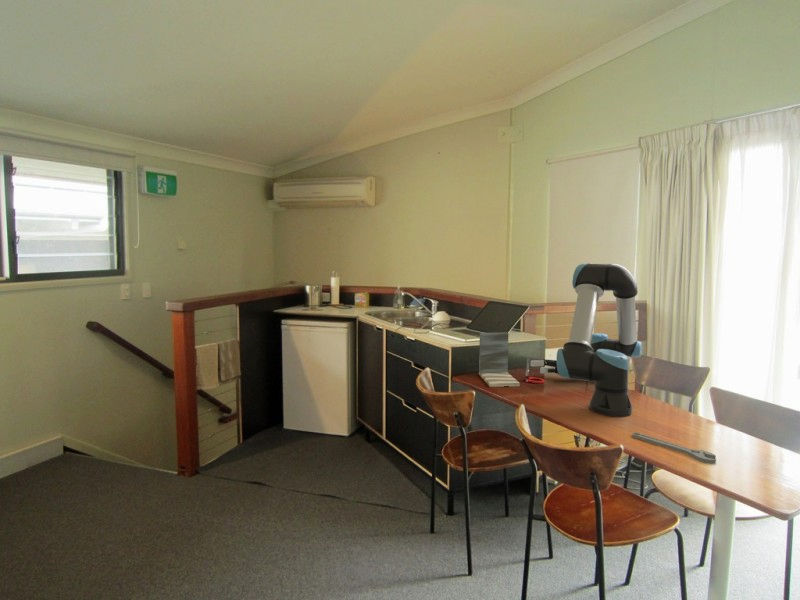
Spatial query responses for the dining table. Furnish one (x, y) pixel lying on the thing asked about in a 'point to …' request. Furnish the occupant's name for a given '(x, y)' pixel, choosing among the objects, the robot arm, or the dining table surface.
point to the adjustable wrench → (680, 449)
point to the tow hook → (528, 379)
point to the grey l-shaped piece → (495, 360)
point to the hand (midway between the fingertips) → (535, 366)
